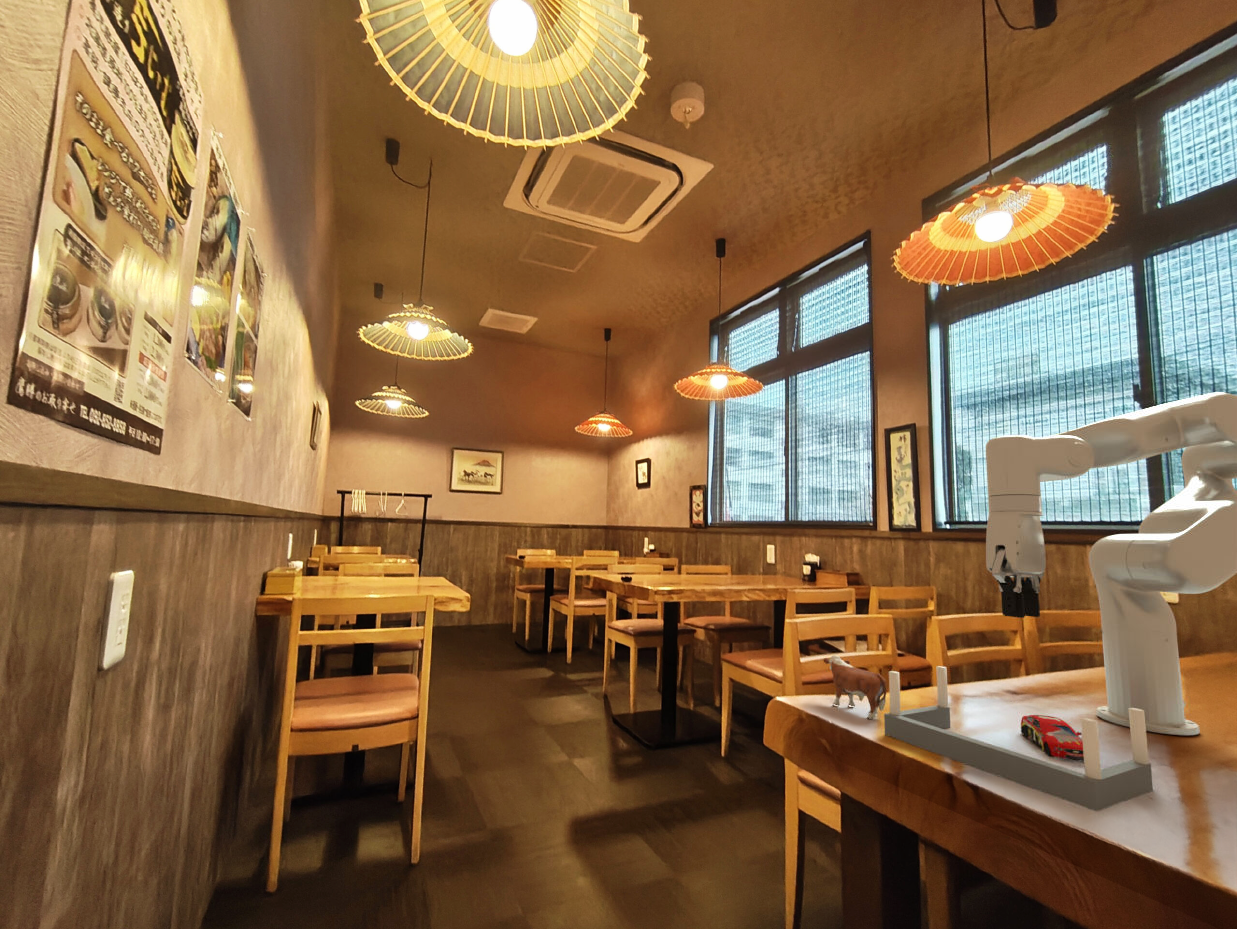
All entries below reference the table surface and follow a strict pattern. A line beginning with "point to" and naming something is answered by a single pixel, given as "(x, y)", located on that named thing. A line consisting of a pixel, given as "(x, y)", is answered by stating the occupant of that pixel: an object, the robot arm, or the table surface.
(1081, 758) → the race car
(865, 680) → the bull figurine
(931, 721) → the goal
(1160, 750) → the table surface
